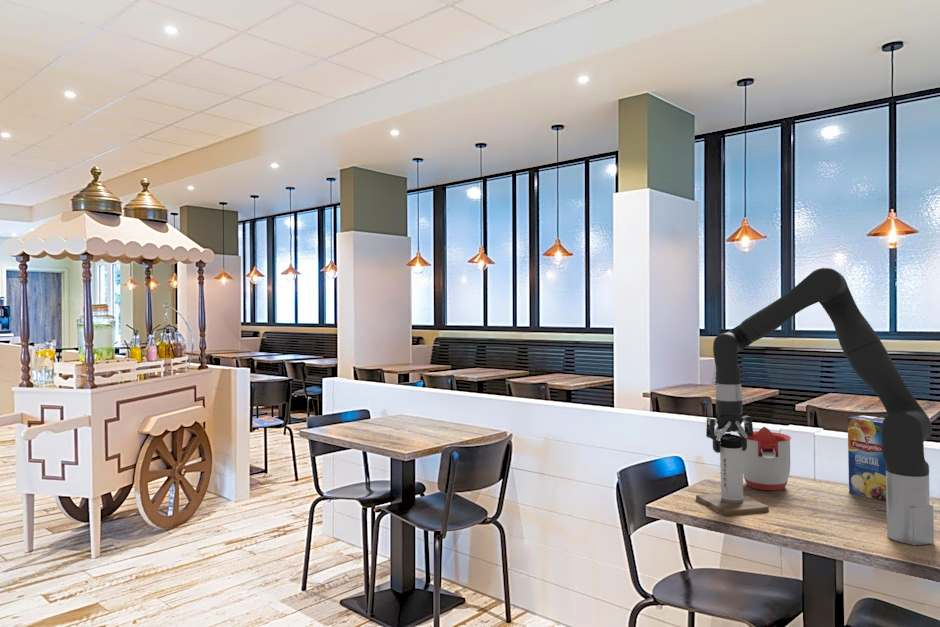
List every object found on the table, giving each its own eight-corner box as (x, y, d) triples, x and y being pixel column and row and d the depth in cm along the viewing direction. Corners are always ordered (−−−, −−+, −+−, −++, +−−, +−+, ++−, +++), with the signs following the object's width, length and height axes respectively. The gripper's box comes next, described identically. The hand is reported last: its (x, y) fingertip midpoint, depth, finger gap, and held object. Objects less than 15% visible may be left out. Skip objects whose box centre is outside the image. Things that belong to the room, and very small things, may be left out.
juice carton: (901, 498, 198) (900, 420, 198) (886, 502, 195) (885, 423, 195) (863, 488, 209) (861, 415, 209) (848, 492, 206) (847, 417, 206)
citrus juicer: (743, 493, 208) (742, 431, 208) (738, 478, 224) (736, 421, 224) (797, 496, 203) (795, 433, 203) (787, 481, 220) (786, 423, 220)
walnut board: (768, 511, 189) (768, 506, 189) (725, 516, 187) (725, 510, 187) (736, 496, 205) (736, 491, 205) (696, 499, 202) (696, 495, 202)
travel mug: (739, 497, 199) (737, 433, 198) (746, 504, 192) (744, 437, 192) (718, 497, 199) (716, 433, 199) (724, 504, 193) (723, 437, 192)
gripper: (714, 401, 190) (715, 455, 191) (757, 398, 193) (758, 452, 193) (700, 397, 198) (702, 450, 198) (742, 395, 200) (743, 447, 201)
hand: (730, 451), depth 196 cm, fingers open, 8 cm apart
